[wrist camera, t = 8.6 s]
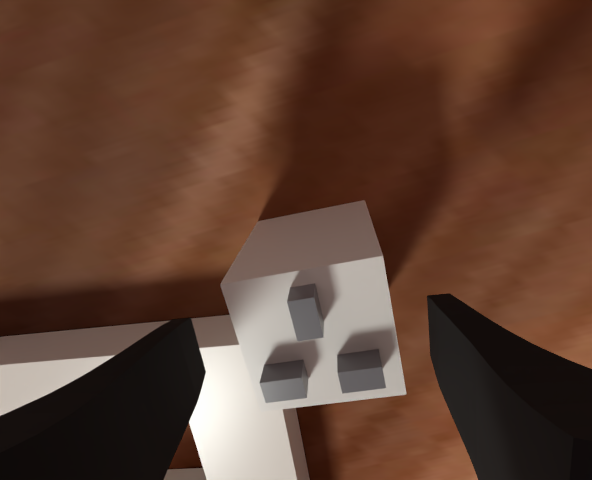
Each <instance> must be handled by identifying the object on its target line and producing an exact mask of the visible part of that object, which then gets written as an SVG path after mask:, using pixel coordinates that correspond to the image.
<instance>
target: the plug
mask: <svg viewBox="0 0 592 480" xmlns="http://www.w3.org/2000/svg"><path fill="white" fill-rule="evenodd" d="M220 286H221V289H222V292H223V295H224V298H225V301H226V305H227V308H228V311H229V314H230V317H231V320H232V323H233V326H234V330H235V333H236V336H237V339H238V342H239V345H240V348H241V351H242V355H243V358H244V361H245V364H246V367H247V370H248V373H249V376H250V380H251V383H252V386H253V389H254V392H255V395H256V398H257V402H258V405H259V408H260V411H261V412H264V411H273V410H281V409H289V408H297V407H306V406H314V405H322V404H331V403H339V402H347V401H355V400H364V399H372V398H380V397H389V396H397V395H405V394H406V389H405V383H404V377H403V371H402V365H401V359H400V353H399V347H398V341H397V335H396V329H395V323H394V318H393V312H392V306H391V300H390V294H389V288H388V282H387V276H386V270H385V264H384V258H383V254H382V251H381V248H380V245H379V242H378V239H377V236H376V233H375V230H374V227H373V224H372V220H371V217H370V214H369V211H368V208H367V205H366V202H365V200H362V201H357V202H352V203H347V204H342V205H337V206H332V207H327V208H322V209H317V210H312V211H307V212H302V213H297V214H292V215H287V216H282V217H276V218H271V219H266V220H261V221H258V222H257V224H256V225H255V227H254V229H253V230H252V232H251V234H250V235H249V237H248V239H247V240H246V242H245V244H244V245H243V247H242V249H241V250H240V252H239V254H238V255H237V257H236V259H235V260H234V262H233V264H232V265H231V267H230V269H229V270H228V272H227V274H226V275H225V277H224V279H223V280H222V282H221V284H220Z"/></svg>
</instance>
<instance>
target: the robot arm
mask: <svg viewBox="0 0 592 480" xmlns="http://www.w3.org/2000/svg"><path fill="white" fill-rule="evenodd" d="M427 301H428V319H429V338H430V356H431V359H432V363H433V366H434V370H435V374H436V377H437V380H438V384H439V387H440V389H441V392H442V394H443V396H444V399H445V401H446V403H447V406H448V408H449V410H450V413H451V415H452V417H453V419H454V422H455V424H456V426H457V429H458V431H459V433H460V436H461V438H462V440H463V442H464V445H465V447H466V449H467V452H468V454H469V456H470V459H471V461H472V464H473V466H474V469H475V472H476V474H477V477H478V480H592V369H590V368H587V367H585V366H582V365H580V364H577V363H575V362H572V361H570V360H567V359H565V358H563V357H560V356H558V355H556V354H554V353H551V352H549V351H547V350H545V349H542V348H540V347H538V346H536V345H534V344H532V343H530V342H528V341H526V340H525V339H523V338H521V337H519V336H517V335H515V334H513V333H512V332H510V331H508V330H506V329H505V328H503V327H501V326H499V325H498V324H496V323H494V322H493V321H491V320H490V319H488V318H486V317H485V316H483V315H482V314H480V313H479V312H477V311H475V310H474V309H472V308H471V307H469V306H468V305H466V304H465V303H463V302H462V301H460V300H459V299H457V298H456V297H454V296H453V295H451V294H439V295H429V296H427ZM205 374H206V370H205V367H204V363H203V359H202V356H201V352H200V349H199V345H198V341H197V338H196V334H195V330H194V327H193V323H192V320H191V318H182V319H173V320H171V321H169V322H167V323H165V324H163V325H161V326H160V327H158V328H157V329H155V330H153V331H152V332H150V333H149V334H147V335H146V336H144V337H143V338H141V339H140V340H138V341H137V342H135V343H134V344H132V345H131V346H129V347H128V348H126V349H125V350H123V351H122V352H120V353H118V354H117V355H115V356H114V357H112V358H110V359H109V360H107V361H106V362H104V363H102V364H101V365H99V366H98V367H96V368H94V369H93V370H91V371H90V372H88V373H86V374H84V375H83V376H81V377H79V378H77V379H76V380H74V381H72V382H70V383H68V384H66V385H65V386H63V387H61V388H59V389H57V390H55V391H53V392H51V393H49V394H47V395H45V396H43V397H41V398H39V399H37V400H34V401H32V402H30V403H28V404H25V405H23V406H21V407H19V408H17V409H14V410H12V411H10V412H8V413H6V414H3V415H1V416H0V480H164V478H165V475H166V473H167V470H168V468H169V465H170V463H171V461H172V459H173V457H174V454H175V452H176V450H177V448H178V445H179V443H180V441H181V439H182V436H183V434H184V432H185V430H186V427H187V425H188V423H189V421H190V418H191V416H192V414H193V411H194V409H195V407H196V404H197V402H198V399H199V395H200V392H201V389H202V385H203V381H204V377H205Z"/></svg>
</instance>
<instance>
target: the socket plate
mask: <svg viewBox="0 0 592 480" xmlns="http://www.w3.org/2000/svg"><path fill="white" fill-rule="evenodd" d="M191 320H192V323H193V327H194V330H195V334H196V338H197V341H198V345H199V349H200V352H201V356H202V359H203V363H204V367H205V370H206V374H205V377H204V381H203V385H202V389H201V392H200V395H199V399H198V402H197V404H196V407H195V409H194V411H193V414H192V416H191V418H190V421H189V424H190V427H191V430H192V434H193V437H194V440H195V443H196V447H197V450H198V453H199V456H200V460H201V463H202V466H203V468H189V469H168V470H167V473H166V475H165V478H164V480H310V478H309V473H308V468H307V463H306V458H305V452H304V447H303V442H302V437H301V432H300V427H299V422H298V416H297V411H296V408H289V409H281V410H273V411H264V412H261V411H260V408H259V405H258V402H257V398H256V395H255V392H254V389H253V386H252V383H251V380H250V376H249V373H248V370H247V367H246V364H245V361H244V358H243V355H242V351H241V348H240V345H239V342H238V339H237V336H236V333H235V330H234V326H233V323H232V320H231V317H230V315H222V316H212V317H201V318H191ZM170 321H171V320H170ZM167 322H169V321H159V322H149V323H138V324H128V325H118V326H107V327H97V328H86V329H76V330H65V331H55V332H45V333H34V334H24V335H13V336H3V337H0V416H1V415H3V414H6V413H8V412H10V411H12V410H14V409H17V408H19V407H21V406H23V405H25V404H28V403H30V402H32V401H34V400H37V399H39V398H41V397H43V396H45V395H47V394H49V393H51V392H53V391H55V390H57V389H59V388H61V387H63V386H65V385H66V384H68V383H70V382H72V381H74V380H76V379H77V378H79V377H81V376H83V375H84V374H86V373H88V372H90V371H91V370H93V369H94V368H96V367H98V366H99V365H101V364H102V363H104V362H106V361H107V360H109V359H110V358H112V357H114V356H115V355H117V354H118V353H120V352H122V351H123V350H125V349H126V348H128V347H129V346H131V345H132V344H134V343H135V342H137V341H138V340H140V339H141V338H143V337H144V336H146V335H147V334H149V333H150V332H152V331H153V330H155V329H157V328H158V327H160V326H161V325H163V324H165V323H167Z"/></svg>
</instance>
